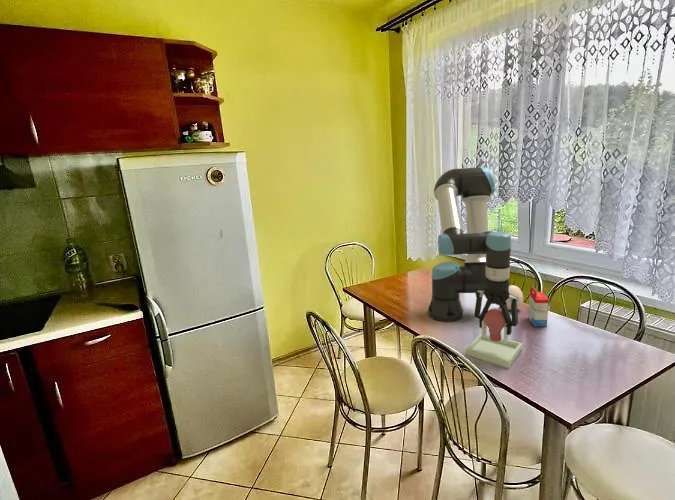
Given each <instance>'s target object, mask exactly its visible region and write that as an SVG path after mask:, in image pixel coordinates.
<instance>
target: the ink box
mask: <svg viewBox="0 0 675 500" xmlns="http://www.w3.org/2000/svg"><path fill="white" fill-rule="evenodd" d="M548 312H549V299H548V297H547V296H546V295H545V294H544V293H543V292H542V291H537V290H536V289H535V288H534V287H533V286H532V285H530V288H529V300H528V314H527V315H528V319H529V321H530V322H531V324H532V325H533V326H534V327H547V326H548V315H549V313H548Z"/></svg>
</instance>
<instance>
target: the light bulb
mask: <svg viewBox="0 0 675 500" xmlns="http://www.w3.org/2000/svg"><path fill="white" fill-rule="evenodd" d="M484 319H485V322H486V325H487V329H488V332H489V335H490V340H492V341H500V340H501V338H502V330H504V326H505V325H506V322H505V319H504V316H503V313H502V310H501V308H489V309H488V311H487V312H486V314H485V318H484Z"/></svg>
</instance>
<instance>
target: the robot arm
mask: <svg viewBox="0 0 675 500" xmlns="http://www.w3.org/2000/svg"><path fill="white" fill-rule="evenodd" d="M434 184H435V185H434V189H433V193H434V194H433V195H434V198H435V199H436V201H437V204H438V213H439V217H440V218H439V220H440V226H441V232H442V233H441V234H438V237H437V250H438V254H440V255H448V256H452V255H453V256H454V255H455V256H456V255H457V256H458V255H467V258H466V259H465V260H464V263H463V265H460V263H459V262H456V261H445V262H444V261H443V262H440V263H437V264H435V265H434V266H433V267H432V269H431V299H430V303H429V306H428V309H427V314H428V315H427V316H429V318H431V319H432V320H436V321H438V322H439V321H440V322H456V321H460V320H461V319H463V317H464V308H463V306H462V303H461V299H460V294H475V297H476V298H475V299H476V300H475V306H474V313H473V317H474V318H477V319H478V321H479V323H478V325H479V326H478V327H479V329H481V333H482V338H484V337H485V336H486V334H488V333H487V330H488V326H487V325H486V322H485V314H486V312H487V311H488V310H490V307H491V305H496V306H497V305H498V306H499V309H500V310H502V313H503V316H504V319H505V322H506V324H505V326H504V327H503V338H504V339H503V344H506V343H507V342H508V340H509V336H511V334H512V332H513V331H512V329H513V327H516V326H517V325H518V323H519V317H518V316H519V315H518V309H517V301H518V297H513V296H510V294H509V286H510V269H511V266H510V265H511V253H512V252H511V249H512V238H511V237H512V236H511V234H510V233H508V232H504V231H492V230H489V221H488V217H489V216H488V201H489V200H490V199H491V198H492V197H491V195H493V194H494V193H495V190H496V188H495V187H496V181H495V176H494V173H493V171H492V169H491V168H489V167H487V166H486V167H485V166H484V167H480V166H478V167H465V168H464V167H463V168H452V169H448V170H447V171H445V172H444V173H442V174H441V175H440V177H438V179H437V180H436V183H434ZM459 196H461V200H462V201H463V202H464V204H465V209H466V210H465V215H466V217H465V218H466V233H464V230H463V229H464V227H463V223H462V219H461V215H460V208H459V204H458V199H457V197H459ZM484 296H485V298H486V302H485V305H484V307H483V308H482V302H483V297H484ZM507 299H509V300H510V303H511V310H509V309H508V308H507V303H506V300H507ZM481 310H482V311H481ZM509 311H510V312H509ZM510 313H511V315H510Z"/></svg>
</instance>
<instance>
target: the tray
mask: <svg viewBox="0 0 675 500" xmlns="http://www.w3.org/2000/svg"><path fill="white" fill-rule="evenodd" d="M503 339H504V337H501V340H500V341H492V340H490V334H488V333H486V336H485V337H484V338H482V332H480V333H479V335H477V337H476V338H474V340H473V341H472V342H471V343H470V344H469V345H468V346H467V347H466V348H465V356H467V357H470V358H474V359H478V360H480V361H484V362H487V363H491V364H492V365H495V366H499V367H503V368H506V369H510V367H511V366H512V365H513V363H514V362H515V360H516V359H517V357H518V356H519V355H520V353H521V352H522V350H523V343H522V342H519V341H514V340H513V339H512V340H511V339H508V342H507V343H506V344H503Z"/></svg>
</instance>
